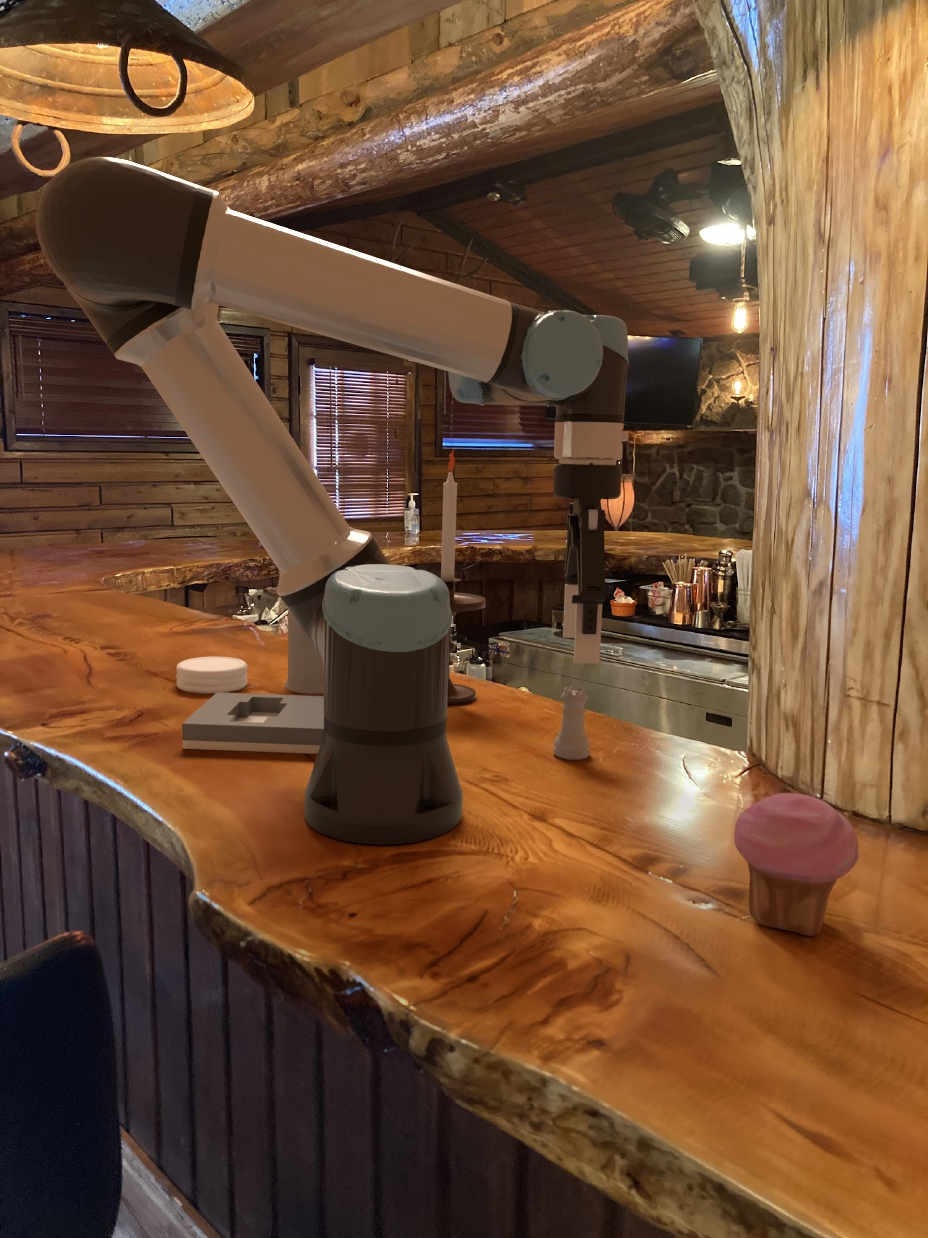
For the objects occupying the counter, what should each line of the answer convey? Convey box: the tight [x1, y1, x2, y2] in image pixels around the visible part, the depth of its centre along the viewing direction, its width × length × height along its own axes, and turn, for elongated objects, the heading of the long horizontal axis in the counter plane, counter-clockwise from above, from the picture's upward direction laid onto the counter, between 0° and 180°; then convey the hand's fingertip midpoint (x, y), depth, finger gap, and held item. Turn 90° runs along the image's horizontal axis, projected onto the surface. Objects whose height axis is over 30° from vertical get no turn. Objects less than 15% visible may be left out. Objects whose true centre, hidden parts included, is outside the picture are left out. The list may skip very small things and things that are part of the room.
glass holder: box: [284, 608, 324, 695], centre depth 137 cm, size 9×14×15 cm, turn 152°
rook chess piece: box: [552, 686, 591, 761], centre depth 108 cm, size 4×4×8 cm
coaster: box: [175, 656, 248, 695], centre depth 135 cm, size 10×10×4 cm
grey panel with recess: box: [181, 692, 324, 755], centre depth 112 cm, size 14×26×8 cm, turn 89°
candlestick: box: [439, 449, 486, 707], centre depth 129 cm, size 11×11×35 cm
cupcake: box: [733, 792, 860, 937], centre depth 70 cm, size 9×9×10 cm
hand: (580, 649), depth 106 cm, fingers open, 13 cm apart
